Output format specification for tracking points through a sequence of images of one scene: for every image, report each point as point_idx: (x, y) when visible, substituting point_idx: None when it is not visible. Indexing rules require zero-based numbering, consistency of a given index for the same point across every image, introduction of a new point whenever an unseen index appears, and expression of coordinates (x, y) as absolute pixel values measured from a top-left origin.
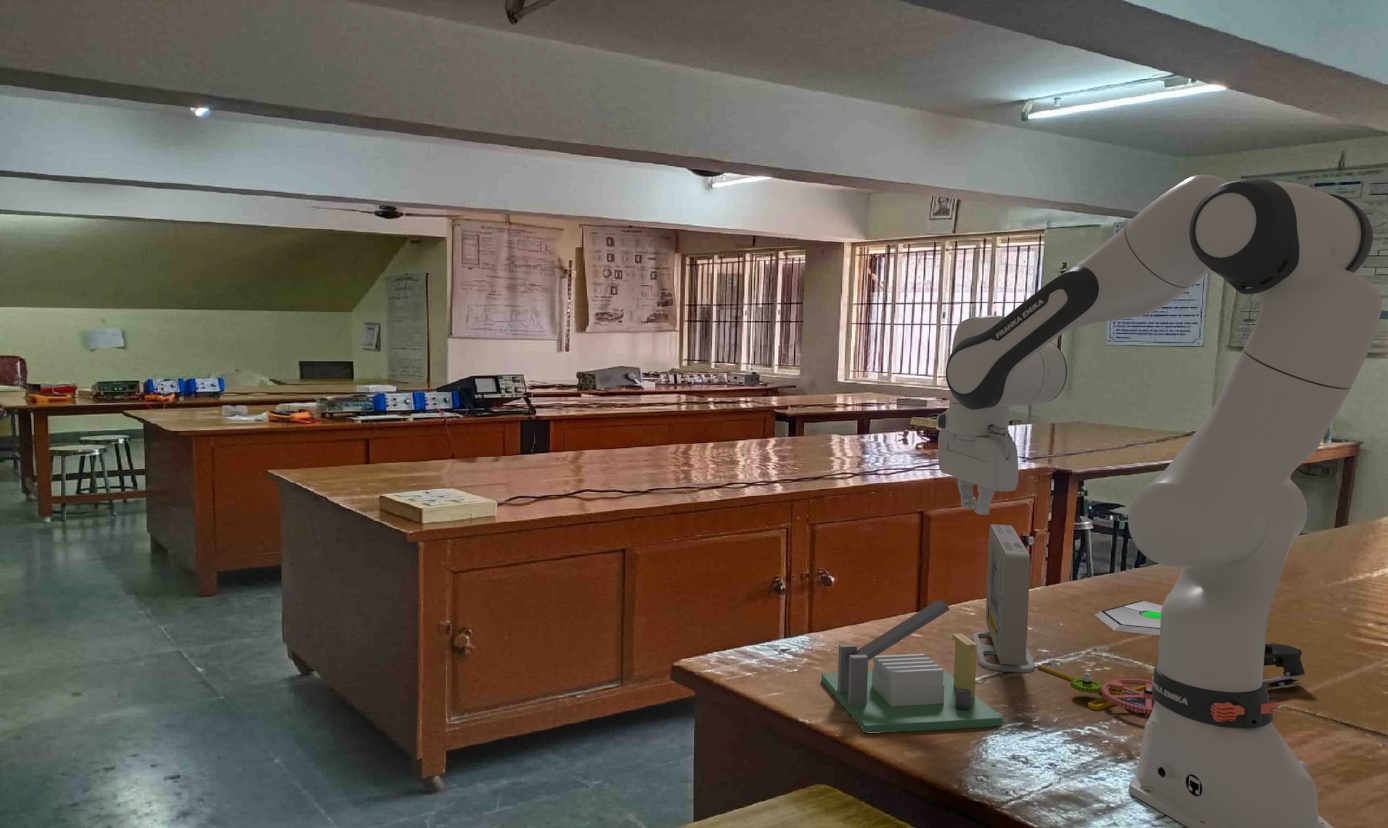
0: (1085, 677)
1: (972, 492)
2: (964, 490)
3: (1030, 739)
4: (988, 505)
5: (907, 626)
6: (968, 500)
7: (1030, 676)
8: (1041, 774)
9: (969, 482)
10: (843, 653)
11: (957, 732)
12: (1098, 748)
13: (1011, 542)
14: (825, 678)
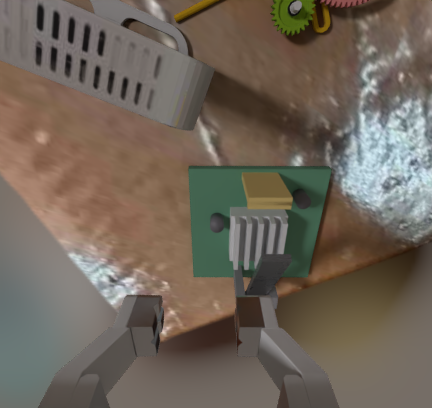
0: (296, 11)
1: (114, 343)
2: (113, 374)
3: (363, 154)
4: (275, 321)
5: (270, 279)
6: (156, 337)
7: (204, 53)
8: (422, 181)
9: (98, 405)
10: None
11: (326, 209)
12: (410, 97)
13: (26, 28)
14: (205, 276)
